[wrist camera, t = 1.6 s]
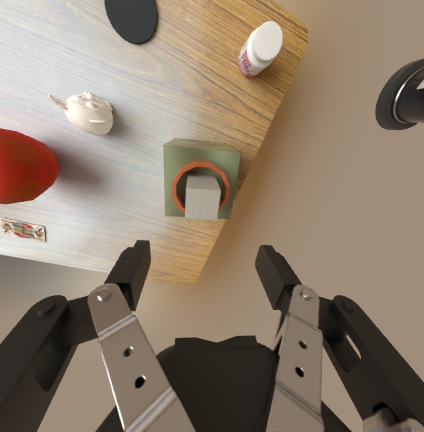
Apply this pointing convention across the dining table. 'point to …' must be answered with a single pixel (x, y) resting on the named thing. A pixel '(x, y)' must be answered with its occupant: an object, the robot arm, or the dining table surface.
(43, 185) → the apple
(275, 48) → the pill bottle
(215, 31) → the dining table surface
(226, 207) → the stand
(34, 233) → the playing card
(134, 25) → the coaster
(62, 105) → the figurine
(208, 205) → the block
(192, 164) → the segmented terracotta ring
